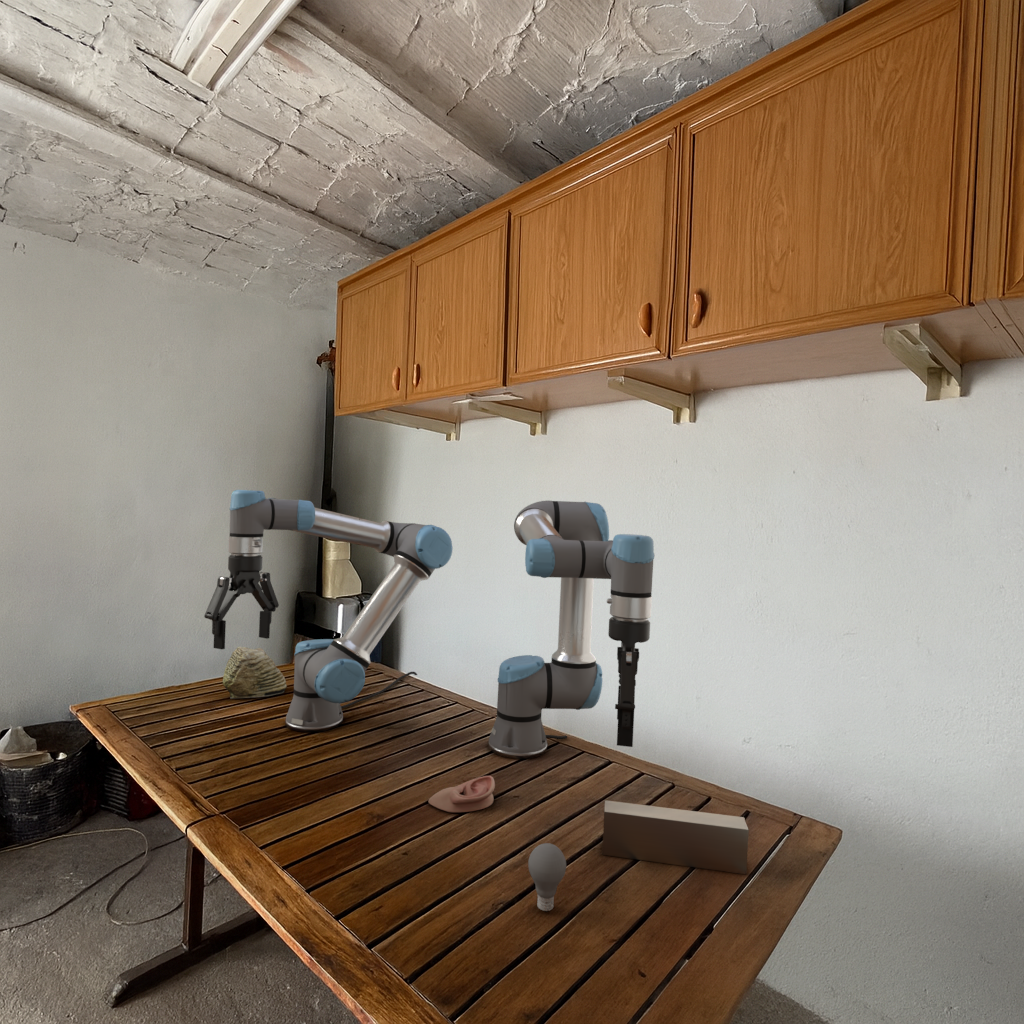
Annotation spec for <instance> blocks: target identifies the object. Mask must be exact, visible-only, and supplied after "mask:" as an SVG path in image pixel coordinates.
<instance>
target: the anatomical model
mask: <svg viewBox="0 0 1024 1024" xmlns="http://www.w3.org/2000/svg"><path fill="white" fill-rule="evenodd" d="M495 788H496V782H495V779H494V777H493V776H491V775H483V776H480V777H476V778H473V779H470V780H467V781H466V782H463V783H461V784H459V785H455V786H451V787H446V788H443V789H440V790H439V791H437V792H436V793H434V794H433V795H432V796H430V798H429V799H428V800H427V801H428V804H429V805H431V806H432V807H434V808H435V809H439V810H441V811H444V812H446V813H468V812H475V811H480V810H482V809H485V808H488V807H490V806H491V805H492V804H493V803H494V800H495V799H494V794H493V792H494V790H495Z"/></svg>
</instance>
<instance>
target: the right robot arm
mask: <svg viewBox="0 0 1024 1024" xmlns="http://www.w3.org/2000/svg"><path fill="white" fill-rule="evenodd" d="M513 531H514V534H515V536H516V538H517V540H519V542H520V543H521V544H523V545H525V555H524V561H525V562H524V563H525V565H524V566H525V572H526V573H527V575H528V576H530V577H537V578H539V577H540V578H542V579H546V578H559V579H560V590H559V591H560V593H559V594H560V595H559V612H558V613H559V615H558V635H557V636H558V637H557V638H558V640H557V649H556V650H555V652H554V653H552V654H551V660H550V661H551V662H545V659H544V658H543V657H542V656H540V655H531V654H525V655H517V656H511V657H509V658H507V659H505V660H503V661H501V663H500V665H499V669H498V677H497V683H498V684H497V686H498V687H497V702H496V703H497V704H496V718H495V721H494V723H493V726H492V729H491V731H490V734H489V736H488V749H489V751H491V752H492V753H494V754H495V755H498V756H500V757H503V758H507V759H508V758H509V759H514V760H515V759H516V760H526V759H527V760H528V759H534V758H538V757H540V756H542V755H544V754H546V753H547V751H548V739H552V740H567V739H568V736H566V735H554V734H546V732H545V728H544V725H543V721H542V711H543V710H545V709H546V710H577V711H579V710H587V709H589V710H590V709H592V708H594V707H595V706H596V705H597V704H598V703H599V700H600V697H601V694H602V689H603V668H602V666H601V665H600V664H599V663H598V662H597V657H596V656H595V655H594V654H593V653H592V650H591V648H592V630H593V629H592V628H593V627H592V626H593V609H594V608H593V605H594V585H595V584H594V583H595V579H596V580H597V579H598V580H610V597H609V598H606V603H607V604H608V605H609V615H610V616H611V617H610V618H608V633H607V635H608V637H609V638H610V639H611V640H613V641H616V642H620V646H617V650H616V659H617V666H618V667H617V672H618V683H619V685H618V688H617V689H618V691H617V703H615V705H614V709H615V710H616V711H617V712H616V720H617V730H616V731H617V733H616V746H618V747H627V748H633V747H634V725H635V709H636V705H635V697H636V685H637V681H636V675H638V670H639V669H638V664H639V661H640V648H637V647H636V644H637V643H646V642H648V641H649V640H650V637H651V635H650V634H651V621H650V620H649V619H650V618H651V617H652V603H653V596H652V592H653V577H654V575H653V574H654V559H655V552H654V551H655V549H654V547H655V546H654V539H653V537H652V536H650V535H643V534H633V533H632V534H630V533H629V534H628V533H619V534H615V535H614V536H613V539H611V540H610V525H609V519H608V514H607V511H606V510H605V508H604V506H602V504H600V503H597V502H588V501H567V500H565V501H564V500H540V501H536V502H533V503H530V504H528V505H527V506H525V507H523V508H522V509H521V510H520V511H519V512H518V514H517V515H516V516H515V518H514V521H513Z"/></svg>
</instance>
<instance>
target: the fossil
mask: <svg viewBox="0 0 1024 1024" xmlns="http://www.w3.org/2000/svg"><path fill="white" fill-rule="evenodd" d="M222 676H223V677H222V685H223V687H224V688H225V690H226V691H228V693H229V698H230V699H250V698H264V697H271V696H275V695H281V694H284V693H285V691H286V689H287V687H288V686H287V680H286V678H285V676H284V674H283V673H282V672H281V669H279V668H278V667H277V665H276V663H275V662H274V660H273V659H272V658H271V657H270V656H269V655H268V654H267V653H266V652H265V650H264V649H263V648H260V647H258V648H251V647H247V646H246V647H245V646H238V647H237V648H236V649H235V650H233V651H232V653H231V656H230V657H229V659H228V660H227V663H226V666H225V668H224V671H223V675H222Z"/></svg>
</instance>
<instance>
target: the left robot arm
mask: <svg viewBox="0 0 1024 1024" xmlns="http://www.w3.org/2000/svg"><path fill="white" fill-rule="evenodd" d="M265 530H266V531H267V530H268V531H269V530H272V531H273V530H274V531H275V530H276V531H277V530H278V531H291V532H296V533H301V534H306V535H311V536H315V537H319V538H324V539H330V540H334V541H338V542H342V543H343V542H344V543H348V544H353V545H357V546H358V545H359V546H363V547H367V548H372V549H373V550H374V551H375V552H376V553H378V554H384V555H387V556H390V557H391V558H392V557H393V562H394V564H393V565H392V567H391V568H390V570H389V571H388V572H387V574H386V575H385V577H384V578H383V579H382V581H381V582H380V584H379V585H378V586H377V588H376V590H375V591H374V592H373V594H372V595H371V596H370V598H369V599H368V601H367V602H366V604H365V605H364V606H363V607H362V608H361V610H360V612H359V613H358V614H357V616H356V618H355V619H354V620H353V622H352V623H351V624H350V626H349V628H347V630H346V632H345V633H344V635H342V636H341V637H338V638H333V639H332V638H323V639H322V638H320V639H307V640H303V641H299V642H297V644H296V645H295V650H294V651H295V652H294V653H293V654H294V655H293V656H294V672H293V673H294V674H293V695H292V696H293V697H292V699H291V702H290V704H289V708H288V711H287V713H286V715H285V726H286V728H287V729H289V730H291V731H294V732H295V731H296V732H301V733H316V732H325V731H329V730H332V729H335V728H337V727H339V726H340V725H342V723H343V722H344V714H343V709H346V708H349V707H351V706H353V705H356V704H359V703H360V702H364V701H366V700H369V699H372V698H374V697H376V696H378V695H381V694H383V693H384V692H386V691H387V690H389V689H391V687H393V686H394V685H395V684H397V683H398V682H399V681H400V680H403V679H404V678H406V677H408V676H410V675H414V676H418V673H417V672H416V671H409V672H407V673H405V674H402V675H401V676H399V677H398V678H397V679H395V680H394V681H392V682H391V683H390V684H388V685H387V686H386V687H384V688H383V689H381V690H379V691H377V692H375V693H372V694H370V695H367V696H364V697H361V698H359V699H356V700H354V699H355V698H356V697H357V696H358V695H359V694H360V693H361V692H362V690H363V689H364V686H365V683H366V671H367V669H368V668H369V666H370V665H371V657H370V655H371V654H372V652H373V651H374V649H375V648H376V646H377V645H378V643H379V642H380V641H381V639H382V637H383V636H384V635H385V633H386V632H387V630H388V629H389V627H390V626H391V625H392V623H393V622H394V620H395V619H396V617H397V615H398V614H399V613H400V611H401V610H402V608H404V606H405V604H406V602H407V601H408V600H409V598H410V597H411V595H412V593H413V592H414V591H415V589H416V588H417V587H418V585H419V583H420V582H421V581H427V580H429V579H430V577H431V576H432V574H433V573H434V571H435V570H438V569H440V568H443V567H444V566H446V565H447V564H448V563H449V561H450V560H451V557H452V555H453V549H454V548H453V541H452V538H451V536H450V534H449V533H448V532H447V531H446V529H443V528H442V527H439V526H437V525H433V524H420V523H413V522H412V523H411V522H409V523H408V522H394V521H393V522H392V521H389V520H382V521H381V522H378V521H374V520H369V519H365V518H361V517H357V516H352V515H348V514H344V513H340V512H335V511H332V510H326V509H322V508H319V507H315V505H314V503H313V502H312V501H311V500H303V499H286V498H285V499H284V498H276V497H268V498H267V497H266V493H265V492H264V491H263V490H253V489H250V490H249V489H235V490H233V491H232V493H231V496H230V504H229V537H228V553H229V555H228V558H227V559H228V561H227V569H228V571H229V577H228V576H218V578H217V582H216V587H215V590H214V593H213V594H212V596H211V598H210V601H209V603H208V606H207V608H206V611H205V613H204V619H208V620H211V634H212V635H213V649H218V650H225V649H226V625H227V621H226V620H225V619H224V618H225V616H226V615H227V613H228V612H229V611H230V609H231V608H232V606H233V604H234V602H235V601H236V600H237V598H239V597H240V596H241V595H246V594H251V595H252V596H253V598H254V599H255V600H256V602H257V604H258V605H259V606H260V609H262V610H260V611H259V622H258V623H259V624H258V628H259V629H258V638H260V639H266V640H267V639H270V635H271V634H270V633H271V632H270V631H271V629H270V628H271V624H272V617H273V616H272V615H273V614H272V613H274V612H276V610H277V609H278V608H279V601H278V599H277V595H276V593H275V590H274V587H273V584H272V581H271V573H270V572H266V571H262V570H263V555H261V554H262V553H263V551H264V531H265ZM351 700H354V701H351ZM350 701H351V702H350ZM347 702H349V703H347ZM344 703H346V704H344ZM341 704H344V705H341Z"/></svg>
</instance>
